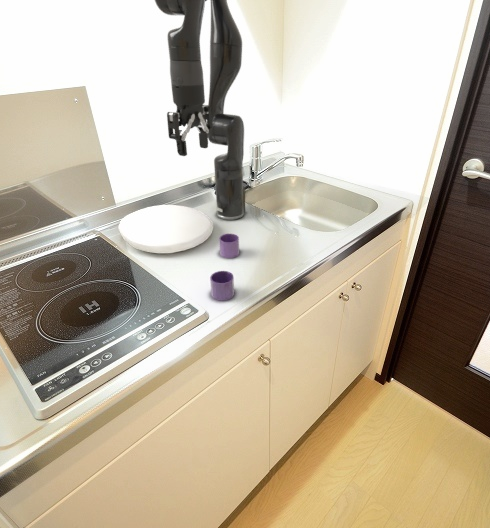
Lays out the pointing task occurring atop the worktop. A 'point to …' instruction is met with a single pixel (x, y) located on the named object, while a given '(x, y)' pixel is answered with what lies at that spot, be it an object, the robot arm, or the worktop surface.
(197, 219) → the plate
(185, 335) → the worktop surface
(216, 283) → the ramekin
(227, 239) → the ramekin
